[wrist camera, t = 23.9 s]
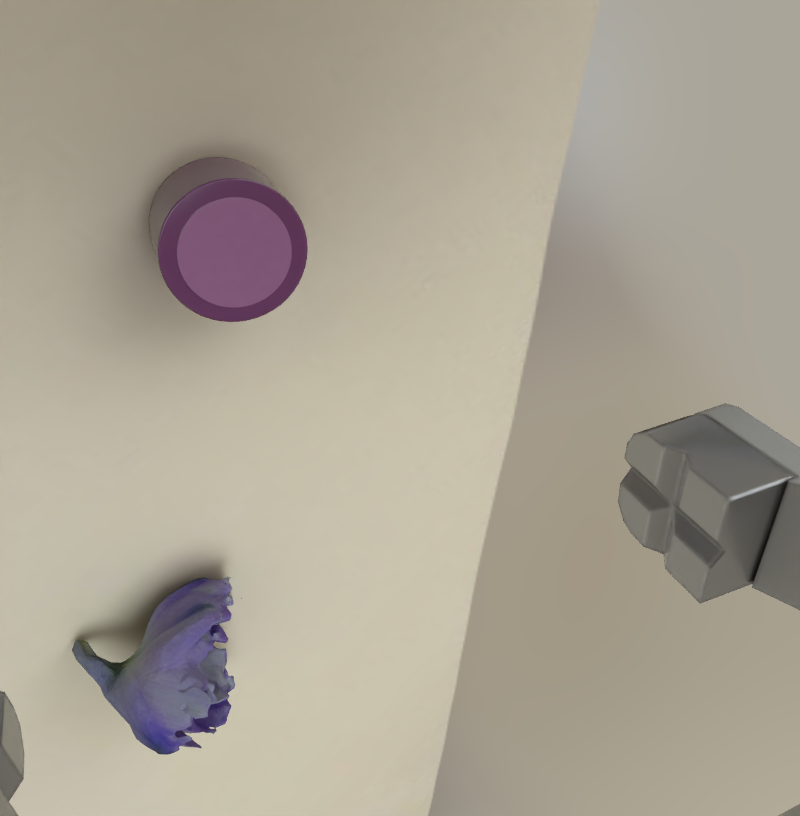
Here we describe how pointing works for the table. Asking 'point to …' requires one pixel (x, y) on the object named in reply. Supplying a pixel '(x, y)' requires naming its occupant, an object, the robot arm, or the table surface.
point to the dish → (226, 240)
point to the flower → (172, 669)
